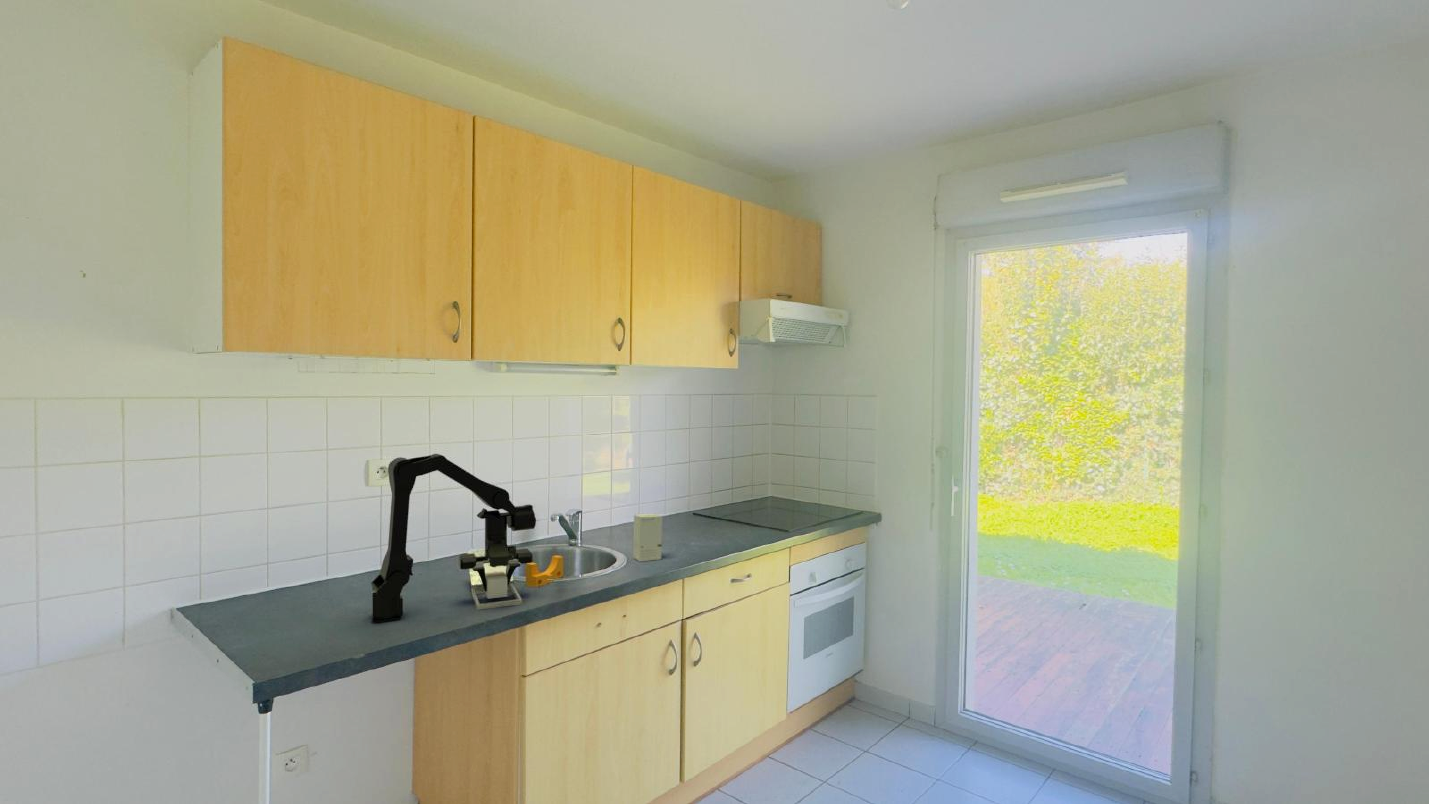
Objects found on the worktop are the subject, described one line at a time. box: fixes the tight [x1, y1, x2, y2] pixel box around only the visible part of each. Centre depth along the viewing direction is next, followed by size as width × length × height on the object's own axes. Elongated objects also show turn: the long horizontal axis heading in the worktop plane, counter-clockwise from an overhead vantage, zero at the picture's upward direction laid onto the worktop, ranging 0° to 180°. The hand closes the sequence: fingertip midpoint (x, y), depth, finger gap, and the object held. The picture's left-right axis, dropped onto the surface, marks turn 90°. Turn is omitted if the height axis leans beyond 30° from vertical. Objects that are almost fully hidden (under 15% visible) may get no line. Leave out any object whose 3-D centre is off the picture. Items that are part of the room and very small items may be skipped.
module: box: [484, 571, 508, 600], centre depth 192 cm, size 5×7×5 cm
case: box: [466, 549, 523, 611], centre depth 198 cm, size 11×27×9 cm, turn 24°
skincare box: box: [632, 513, 663, 563], centre depth 236 cm, size 8×6×15 cm
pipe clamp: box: [525, 554, 564, 588], centre depth 209 cm, size 12×4×6 cm, turn 145°
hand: (495, 590), depth 192 cm, fingers closed on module, 5 cm apart
